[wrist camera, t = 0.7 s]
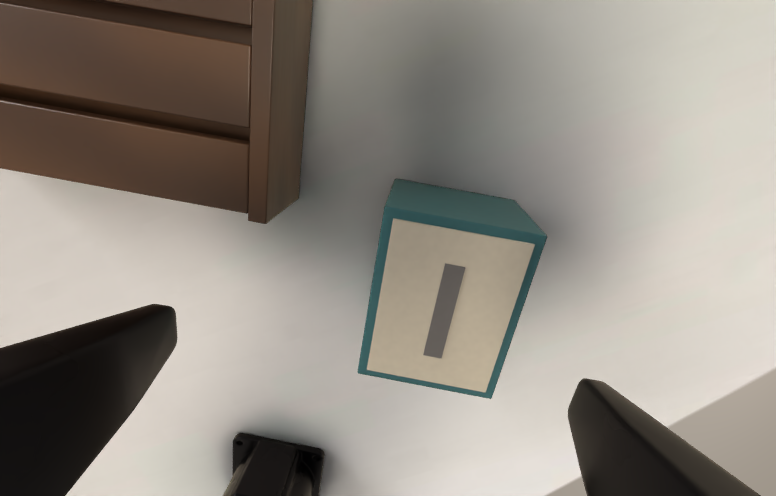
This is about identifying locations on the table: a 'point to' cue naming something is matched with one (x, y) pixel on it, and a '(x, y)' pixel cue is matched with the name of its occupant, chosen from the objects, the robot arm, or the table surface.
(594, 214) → the table surface
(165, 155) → the rack
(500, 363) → the tissue box
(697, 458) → the robot arm
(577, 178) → the table surface
